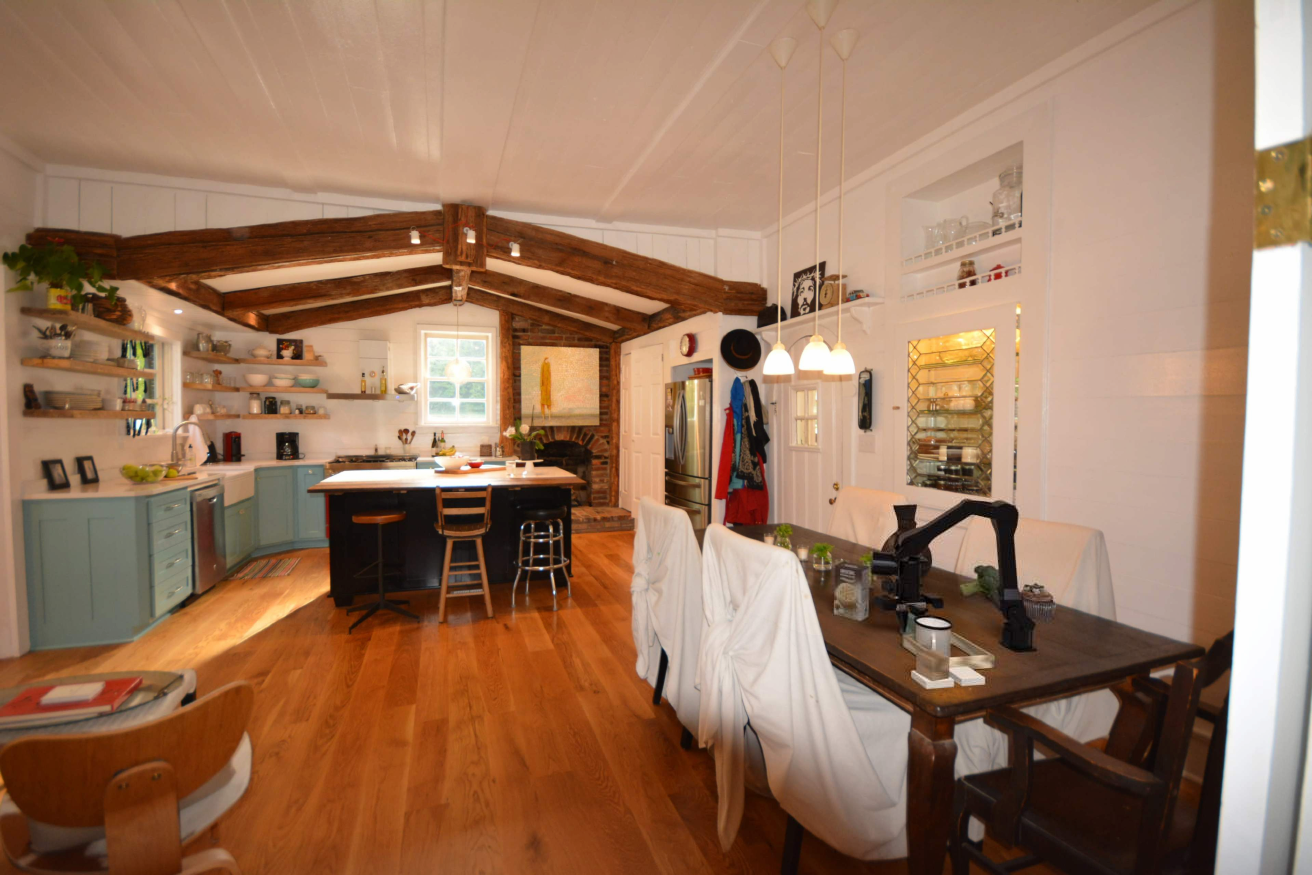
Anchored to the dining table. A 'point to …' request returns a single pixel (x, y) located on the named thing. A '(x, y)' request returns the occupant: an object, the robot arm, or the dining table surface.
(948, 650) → the mug
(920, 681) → the broken cream strip
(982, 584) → the vegetable
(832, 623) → the dining table surface
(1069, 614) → the dining table surface
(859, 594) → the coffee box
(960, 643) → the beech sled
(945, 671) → the beige cube
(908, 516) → the ceramic vessel
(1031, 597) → the cupcake
